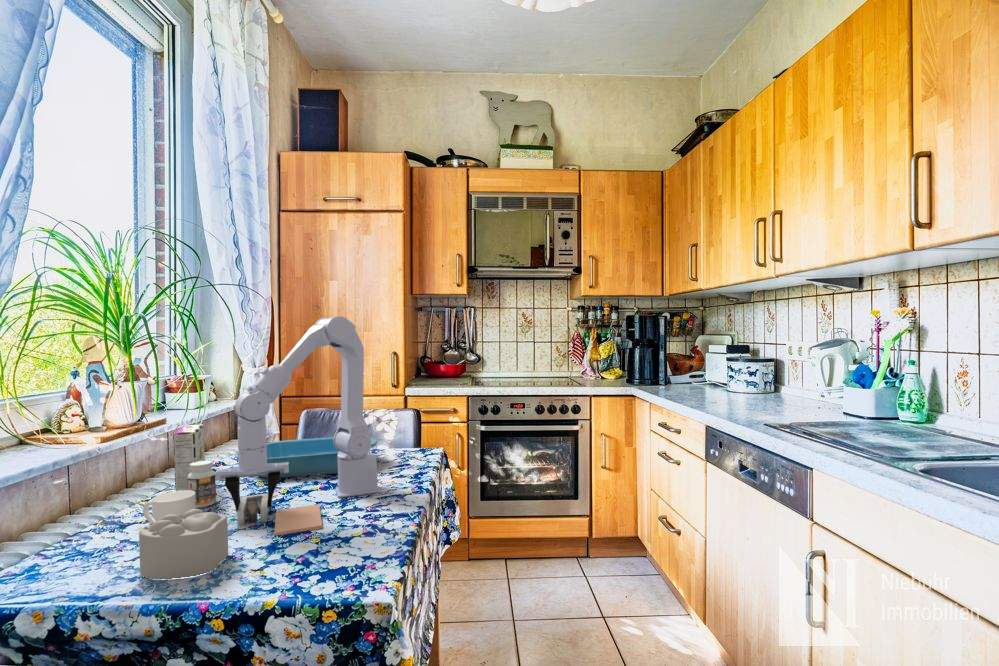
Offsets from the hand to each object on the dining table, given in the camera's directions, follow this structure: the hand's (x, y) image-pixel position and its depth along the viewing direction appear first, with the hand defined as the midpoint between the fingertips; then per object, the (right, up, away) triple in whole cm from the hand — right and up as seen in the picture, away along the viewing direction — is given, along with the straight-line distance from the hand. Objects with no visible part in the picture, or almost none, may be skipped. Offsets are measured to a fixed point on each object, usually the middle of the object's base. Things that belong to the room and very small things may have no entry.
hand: (254, 508), depth 113 cm
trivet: (+11, -1, -4) cm, 12 cm away
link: (0, -1, -1) cm, 2 cm away
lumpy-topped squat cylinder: (-1, -2, -24) cm, 24 cm away
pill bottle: (-16, -2, +8) cm, 18 cm away
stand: (+2, -1, -4) cm, 5 cm away
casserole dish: (-1, -2, +38) cm, 39 cm away
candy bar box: (-25, -2, +17) cm, 30 cm away
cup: (-14, -2, -7) cm, 16 cm away
